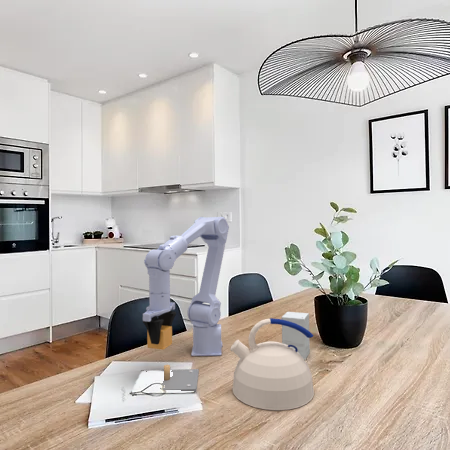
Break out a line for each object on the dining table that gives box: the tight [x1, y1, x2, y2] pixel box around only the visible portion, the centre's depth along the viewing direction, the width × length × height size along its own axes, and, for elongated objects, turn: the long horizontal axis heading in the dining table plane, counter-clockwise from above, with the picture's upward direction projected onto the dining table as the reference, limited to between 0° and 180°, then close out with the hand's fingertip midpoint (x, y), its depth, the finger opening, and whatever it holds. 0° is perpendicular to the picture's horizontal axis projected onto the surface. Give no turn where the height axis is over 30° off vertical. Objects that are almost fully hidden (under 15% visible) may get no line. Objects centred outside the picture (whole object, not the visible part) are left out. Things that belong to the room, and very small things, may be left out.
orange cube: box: [146, 325, 173, 351], centre depth 102 cm, size 5×5×5 cm
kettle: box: [230, 317, 315, 411], centre depth 91 cm, size 20×21×18 cm
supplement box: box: [280, 311, 311, 361], centre depth 114 cm, size 7×7×13 cm
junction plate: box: [140, 364, 200, 393], centre depth 95 cm, size 16×12×4 cm
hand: (160, 340), depth 102 cm, fingers closed on orange cube, 5 cm apart
